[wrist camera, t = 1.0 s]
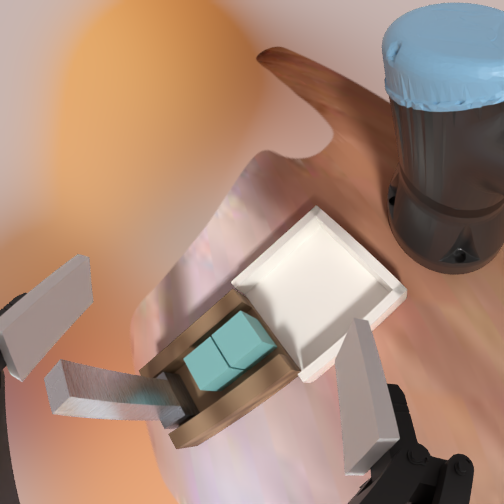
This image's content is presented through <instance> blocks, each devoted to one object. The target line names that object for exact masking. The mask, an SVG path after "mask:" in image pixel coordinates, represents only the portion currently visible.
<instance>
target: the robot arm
mask: <svg viewBox="0 0 504 504" xmlns="http://www.w3.org/2000/svg"><path fill="white" fill-rule="evenodd" d="M382 54H383V61H384V68H385V76H386V77H385V89H386V92H387V94H388V95H389V99H390V104H391V110H392V116H393V122H394V128H395V135H396V142H397V149H398V157H399V163H398V165H397V168H396V170H395V173H394V175H393V177H392V180H391V182H390V185H389V189H388V196H387V209H388V217H389V223H390V227H391V230H392V232H393V235H394V237H395V239H396V240H397V242H398V244H399V245H400V246H401V248H402V249H403V250H404V251H405V253H406V254H408V255H409V256H410V257H411V258H412V259H413V260H414V261H416V262H417V263H419V264H420V265H422V266H424V267H426V268H428V269H430V270H433V271H436V272H439V273H444V274H465V273H469V272H473V271H475V270H478V269H480V268H482V267H483V266H485V265H486V264H488V263H489V262H490V261H491V260H492V259H493V258H494V257H495V256H496V255H497V253H498V252H499V250H500V249H501V247H502V245H503V243H504V11H501V10H498V9H495V8H492V7H488V6H483V5H477V4H470V3H441V4H434V5H428V6H425V7H421V8H418V9H415V10H412V11H410V12H407V13H405V14H404V15H402V16H401V17H399V18H398V19H396V20H395V21H394V22H393V23H392V24H391V25H390V27H389V28H388V29H387V31H386V32H385V35H384V37H383V42H382ZM92 303H93V294H92V284H91V273H90V259H89V257H86V256H83V255H79V254H77V255H76V256H75V257H73V258H72V259H71V260H69V261H68V262H66V263H65V264H64V265H63V266H61V267H60V268H59V269H57V270H56V271H55V272H53V273H52V274H51V275H50V276H48V277H47V278H46V279H45V280H43V281H42V282H41V283H40V284H38V285H37V286H36V287H35V288H33V289H32V290H31V291H30V292H29V293H24V294H21V295H19V296H17V297H15V298H14V299H13V300H12V301H11V302H9V304H7V305H6V306H5V307H4V308H3V309H1V310H0V504H20V502H19V498H18V494H17V489H16V485H15V480H14V474H13V470H12V464H11V457H10V451H9V442H8V434H7V424H6V409H5V380H4V379H5V376H4V371H3V368H4V367H5V366H6V365H7V367H8V370H9V372H10V374H11V375H12V376H14V377H15V378H17V379H18V380H20V381H22V382H23V380H24V379H25V378H26V377H27V375H28V374H29V373H30V372H31V371H32V370H33V369H34V367H35V366H36V365H37V364H38V363H39V361H40V360H41V359H42V358H43V357H44V356H45V355H46V353H47V352H48V351H49V350H50V349H51V348H52V346H53V345H54V344H55V343H56V342H57V341H58V340H59V339H60V337H61V336H62V335H63V334H64V333H65V332H66V331H67V330H68V329H69V328H70V326H71V325H72V324H73V323H74V322H75V321H76V320H77V319H78V318H79V317H80V316H81V314H83V312H84V311H85V310H86V309H87V308H88V307H89V306H90V305H91V304H92ZM335 368H336V377H337V386H338V395H339V405H340V416H341V427H342V439H343V453H344V469H345V475H364V474H365V473H366V472H367V471H368V470H370V469H371V478H370V479H369V480H367V481H366V482H365V483H364V484H363V485H362V486H361V487H359V488H361V489H360V490H359V491H358V492H357V494H356V495H355V496H354V497H353V498H352V499H351V500H350V502H349V503H348V504H469V501H470V495H471V489H472V482H473V475H474V466H473V464H472V461H471V460H470V459H469V458H468V457H467V456H465V455H463V454H455V455H453V456H452V457H451V458H450V459H449V460H444V459H440V458H436V457H432V456H430V454H429V452H428V450H427V449H426V448H425V447H424V446H423V445H421V444H419V443H418V442H417V439H416V435H415V431H414V427H413V423H412V420H411V416H410V414H409V409H408V406H407V402H406V398H405V395H404V393H403V392H402V390H401V389H400V388H399V386H398V385H396V384H387V383H386V379H385V375H384V372H383V368H382V364H381V361H380V357H379V354H378V351H377V347H376V344H375V340H374V337H373V334H372V331H371V327H370V324H369V321H368V320H363V319H357V318H353V320H352V323H351V325H350V327H349V330H348V332H347V334H346V336H345V339H344V341H343V343H342V345H341V348H340V350H339V352H338V354H337V356H336V358H335Z"/></svg>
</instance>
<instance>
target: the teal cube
mask: <svg viewBox="0 0 504 504" xmlns="http://www.w3.org/2000/svg"><path fill="white" fill-rule="evenodd" d="M212 337H213V339H214V340H215V342H216V344H217V345H218V347H219V349H220V350H221V352H222V354H223V355H224V357H225V358H226V360H227V362H228V363H229V365H230V367H235V368H240V369H246V370H250V369H251V368H252V367H253V366H255V365H256V364H257V363H259V362H260V361H261V360H262V359H264V358H265V357H266V356H267V355H269V354H270V353H271V352H272V351H274V350H275V349H276V348H277V346H276V344H275V343H274V341H273V340H272V339H271V337H270V336H269V335H268V333H267V332H266V330H265V329H264V328H263V326H262V325H261V324H260V322H259V321H258V319H256V318H254V317H252V316H250V315H248V314H246V313H244V312H243V311H241V310H240V311H239V312H238V313H237V314H236V315H235V316H233V317H232V318H231V319H230V320H229V321H228V322H226V323H225V324H224V325H223V326H222V327H221V328H219V329H218V330H217V331H216V332H215V333H214V334H212Z"/></svg>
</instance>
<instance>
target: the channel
mask: <svg viewBox="0 0 504 504" xmlns="http://www.w3.org/2000/svg"><path fill="white" fill-rule="evenodd" d="M240 310H241V311H243V312H244V313H246V314H248V315H250V316H252V317H254V318H256V319H258V321H259V322H260V324H261V325H262V326H263V328H264V329H265V330H266V332H267V333H268V335H269V336H270V337H271V339H272V340H273V341H274V343H275V344H276V346H277V348H276V349H275V350H274V351H272V352H271V353H270V354H269V355H267V356H266V357H265V358H264V359H262V360H261V361H260V362H259V363H257V364H256V365H255V366H253V367H252V368H251V369H250V370H247V372H246V373H244V374H243V375H242V376H241V377H239V378H238V379H237V380H235V381H234V382H233V383H231V384H230V385H229V386H227V387H226V388H225V389H223V390H222V391H206V390H200V389H199V387H198V385H197V383H196V382H195V380H194V378H193V376H192V374H191V372H190V371H189V369H188V367H187V365H186V363H185V361H184V358H185V357H186V356H187V355H188V354H190V353H191V352H192V351H193V350H194V349H196V348H197V347H198V346H199V345H200V344H202V343H203V342H204V341H205V340H206V339H208V338H209V337H212V334H214V333H215V332H216V331H217V330H218V329H219V328H221V327H222V326H223V325H224V324H225V323H226V322H228V321H229V320H230V319H231V318H232V317H233V316H235V315H236V314H237V313H238V312H239V311H240ZM139 372H140V374H141V376H144V377H150V378H156V377H158V376H159V375H160V374H161V373H162V372H168V373H174V374H180V376H181V378H182V380H183V382H184V384H185V386H186V388H187V390H188V391H189V393H190V395H191V397H192V399H193V401H194V403H195V404H196V406H197V408H198V410H199V411H200V413H199V414H198V415H196V416H195V417H194V418H192V419H191V420H189V421H188V422H186V423H185V424H183V425H182V426H180V427H179V428H177V429H176V430H174V431H173V432H171V433H169V436H170V438H171V440H172V442H173V444H174V446H175V448H176V449H180V448H187V447H193V446H198V445H199V444H201V443H203V442H204V441H206V440H207V439H209V438H211V437H212V436H214V435H215V434H217V433H219V432H220V431H222V430H223V429H225V428H226V427H228V426H229V425H231V424H232V423H234V422H235V421H237V420H238V419H240V418H241V417H243V416H244V415H246V414H247V413H249V412H250V411H252V410H253V409H254V408H256V407H257V406H259V405H260V404H261V403H263V402H264V401H266V400H267V399H268V398H270V397H271V396H272V395H274V394H275V393H277V392H278V391H279V390H281V389H282V388H283V387H285V386H286V385H287V384H288V383H290V382H291V381H292V380H294V379H295V378H296V377H298V373H300V372H301V370H300V368H299V367H298V366H297V364H296V363H295V362H294V360H293V359H292V358H291V356H290V355H289V354H288V352H287V351H286V350H285V348H284V347H283V346H282V344H281V343H280V342H279V340H278V339H277V338H276V336H275V335H274V334H273V332H272V331H271V330H270V328H269V327H268V325H267V324H266V323H265V321H264V320H263V319H262V317H261V316H260V315H259V313H258V312H257V310H256V309H255V308H254V306H253V305H252V304H251V302H250V301H249V299H248V298H247V297H245V296H244V295H242V294H241V293H239V292H238V291H236V290H234V289H232V290H231V291H230V292H228V293H227V294H226V295H225V296H224V297H223V298H222V299H220V300H219V301H218V302H217V303H216V304H215V305H214V306H213V307H211V308H210V309H209V310H208V311H207V312H206V313H205V314H203V315H202V316H201V317H200V318H199V319H198V320H197V321H195V322H194V323H193V324H192V325H191V326H190V327H189V328H188V329H186V330H185V331H184V332H183V333H182V334H181V335H179V336H178V337H177V338H176V339H175V340H174V341H173V342H171V343H170V344H169V345H168V346H167V347H166V348H165V349H163V350H162V351H161V352H160V353H159V354H158V355H156V356H155V357H154V358H153V359H152V360H151V361H150V362H148V363H147V364H146V365H145V366H144V367H143V368H141V369H140V370H139Z"/></svg>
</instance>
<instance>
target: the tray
mask: <svg viewBox="0 0 504 504" xmlns="http://www.w3.org/2000/svg"><path fill="white" fill-rule="evenodd" d="M231 283H232V285H233V286H234V287H235V288H236V289H237V290H239V291H240V292H242V293H243V294H245V295H246V297H247V298H248V299H249V301H250V302H251V304H252V305H253V306H254V308H255V309H256V310H257V312H258V313H259V315H260V316H261V317H262V319H263V320H264V321H265V323H266V324H267V325H268V327H269V328H270V330H271V331H272V332H273V334H274V335H275V336H276V338H277V339H278V340H279V342H280V343H281V344H282V346H283V347H284V348H285V350H286V351H287V352H288V354H289V355H290V356H291V358H292V359H293V360H294V362H295V363H296V364H297V366H298V367H299V368H300V370H301V372H300V373H298V376H299V377H300V378H301V380H302V381H303V382H307V383H312V382H313V381H315V380H316V379H317V378H318V377H320V376H321V375H322V374H323V373H325V372H326V371H327V370H328V369H329V368H331V367H332V366H333V365H334V364H335V358H336V356H337V354H338V352H339V350H340V348H341V345H342V343H343V341H344V339H345V336H346V334H347V332H348V330H349V327H350V325H351V323H352V320H353V318H357V319H363V320H368V321H369V324H370V327H371V331H373V330H374V329H375V328H376V327H377V326H379V325H380V324H381V323H382V322H383V321H384V320H385V319H386V318H387V317H388V316H389V315H390V314H391V313H392V312H393V311H394V310H395V309H396V308H397V307H398V306H399V305H400V304H401V303H402V302H403V301H404V300H405V299H406V298H407V289H406V288H405V287H404V286H403V285H402V284H401V283H400V282H399V281H398V280H397V279H396V278H395V277H394V276H393V275H392V274H391V273H390V272H389V271H388V270H387V269H386V268H385V267H384V266H383V265H382V264H381V263H380V262H379V261H378V260H377V259H375V258H374V257H373V256H372V255H371V254H370V253H369V252H368V251H367V250H366V249H365V248H364V247H363V246H362V245H361V244H359V243H358V242H357V241H356V240H355V239H354V238H353V237H352V236H351V235H350V234H349V233H347V232H346V231H345V230H344V229H343V228H342V227H341V226H340V225H339V224H337V223H336V222H335V221H334V220H333V219H332V218H331V217H329V216H328V215H327V214H326V213H325V212H324V211H323V210H321V209H320V208H319V207H318V206H317V205H316V206H315V207H314V208H313V209H311V210H310V211H309V212H308V213H307V214H306V215H305V216H304V217H303V218H301V219H300V220H299V221H298V222H297V223H296V224H295V225H294V226H293V227H292V228H290V229H289V230H288V231H287V232H286V233H285V234H284V235H283V236H282V237H280V238H279V239H278V240H277V241H276V242H275V243H274V244H273V245H272V246H270V247H269V248H268V249H267V250H266V251H265V252H264V253H263V254H262V255H260V256H259V257H258V258H257V259H256V260H255V261H254V262H253V263H251V264H250V265H249V266H248V267H247V268H246V269H245V270H244V271H243V272H241V273H240V274H239V275H238V276H237V277H236V278H235V279H234V280H232V281H231Z"/></svg>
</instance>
